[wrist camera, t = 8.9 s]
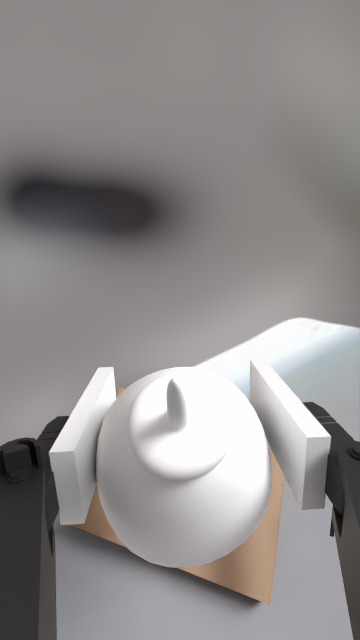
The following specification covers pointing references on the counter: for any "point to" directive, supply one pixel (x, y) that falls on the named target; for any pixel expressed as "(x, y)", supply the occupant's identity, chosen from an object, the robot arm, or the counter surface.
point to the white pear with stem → (183, 467)
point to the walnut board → (240, 564)
